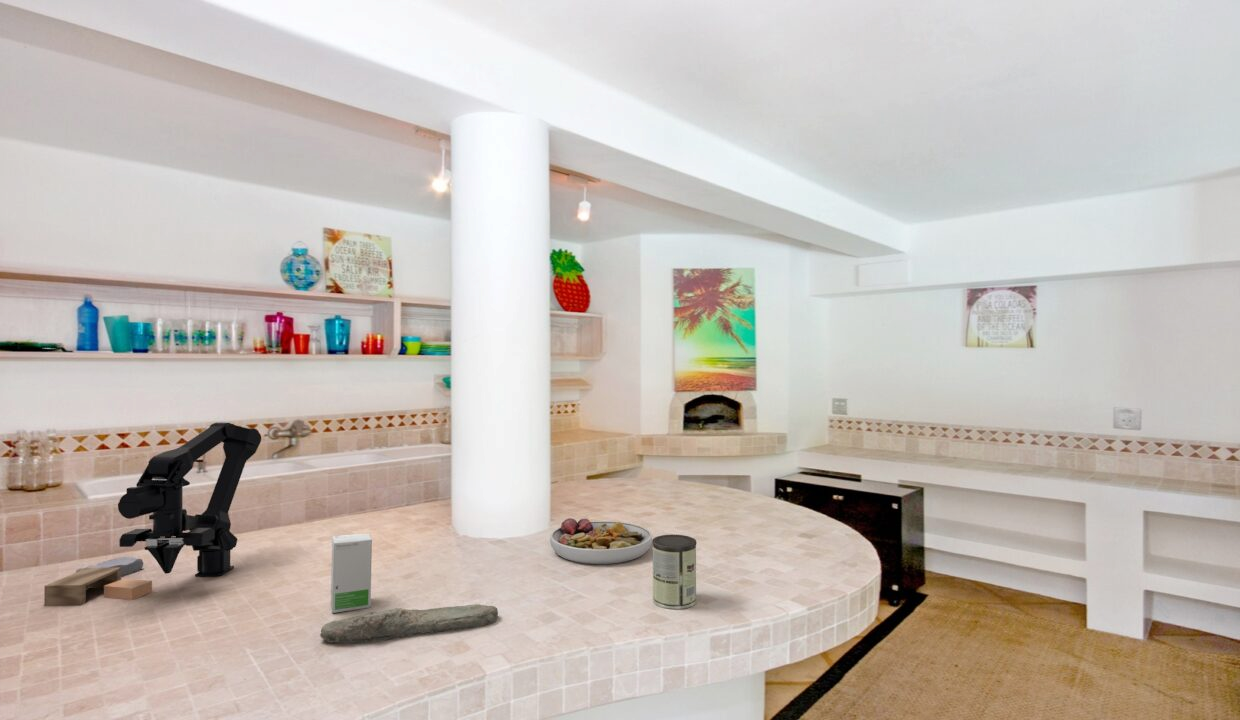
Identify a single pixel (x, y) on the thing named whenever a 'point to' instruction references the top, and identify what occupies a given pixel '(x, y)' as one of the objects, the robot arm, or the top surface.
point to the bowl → (600, 541)
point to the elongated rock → (407, 623)
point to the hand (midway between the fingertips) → (168, 572)
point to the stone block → (120, 565)
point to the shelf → (79, 585)
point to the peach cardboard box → (128, 589)
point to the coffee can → (674, 571)
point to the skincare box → (351, 572)
